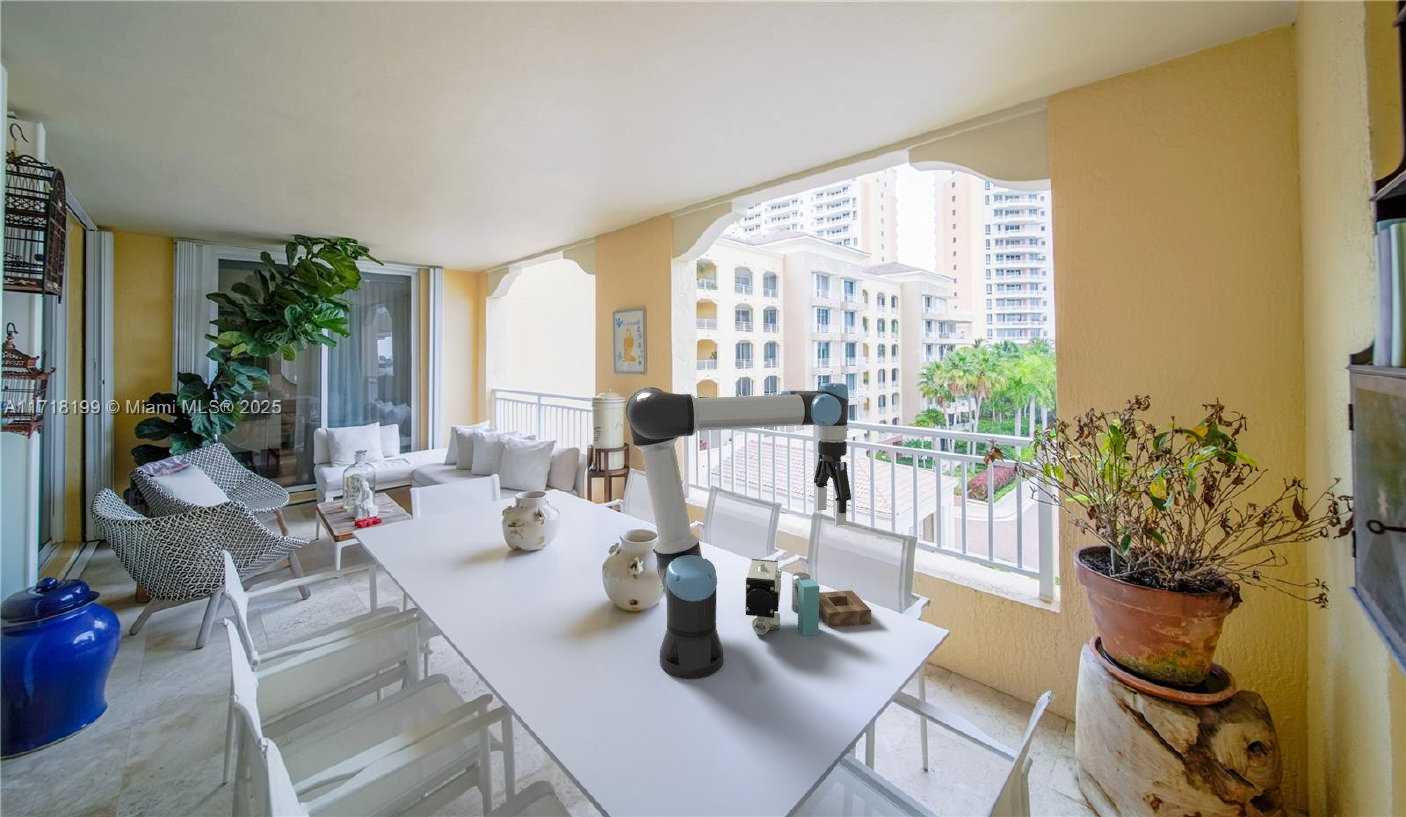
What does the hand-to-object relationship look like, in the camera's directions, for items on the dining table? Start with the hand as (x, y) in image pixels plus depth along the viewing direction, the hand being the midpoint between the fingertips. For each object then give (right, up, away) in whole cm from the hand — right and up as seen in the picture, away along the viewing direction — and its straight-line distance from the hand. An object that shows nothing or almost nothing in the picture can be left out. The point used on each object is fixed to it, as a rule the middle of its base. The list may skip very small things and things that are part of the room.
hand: (830, 516), depth 141 cm
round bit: (-7, -28, +6) cm, 29 cm away
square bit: (-7, -29, -5) cm, 30 cm away
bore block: (+4, -28, +3) cm, 28 cm away
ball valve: (-19, -29, -4) cm, 35 cm away
